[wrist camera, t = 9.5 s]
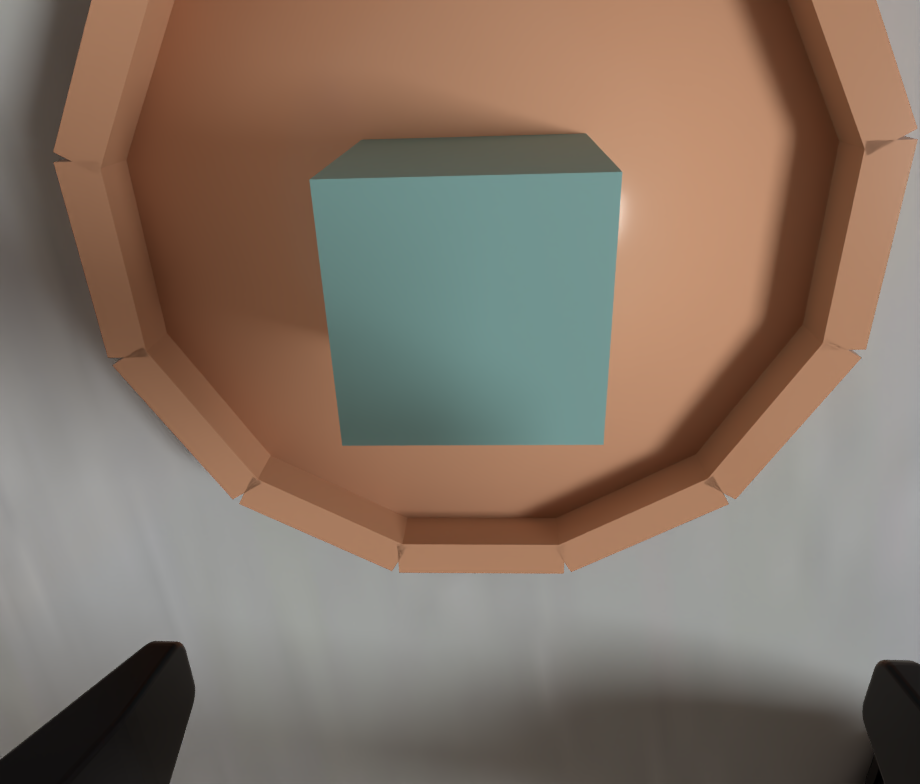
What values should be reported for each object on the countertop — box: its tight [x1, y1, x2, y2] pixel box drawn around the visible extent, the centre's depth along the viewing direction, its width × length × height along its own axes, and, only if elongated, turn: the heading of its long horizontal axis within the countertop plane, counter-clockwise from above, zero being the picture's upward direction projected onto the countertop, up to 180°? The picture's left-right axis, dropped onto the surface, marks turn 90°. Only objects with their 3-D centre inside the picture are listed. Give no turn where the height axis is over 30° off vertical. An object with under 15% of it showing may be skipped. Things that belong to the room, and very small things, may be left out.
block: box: [309, 133, 622, 446], centre depth 15 cm, size 5×5×5 cm
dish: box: [53, 0, 918, 573], centre depth 17 cm, size 18×18×2 cm
